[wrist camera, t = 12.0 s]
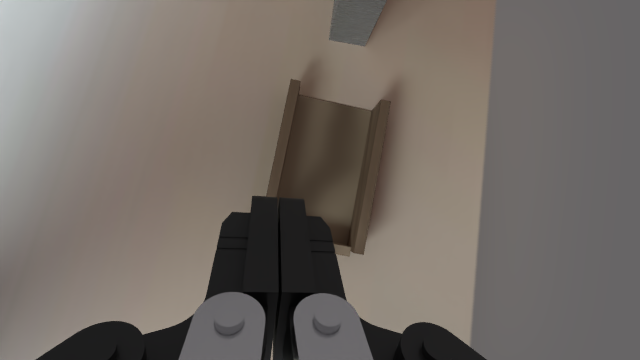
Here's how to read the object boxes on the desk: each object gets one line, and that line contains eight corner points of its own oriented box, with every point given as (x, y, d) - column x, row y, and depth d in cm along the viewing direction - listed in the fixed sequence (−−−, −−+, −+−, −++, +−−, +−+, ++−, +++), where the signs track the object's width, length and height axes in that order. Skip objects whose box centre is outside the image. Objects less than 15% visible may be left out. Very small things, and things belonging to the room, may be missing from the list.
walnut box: (260, 237, 31) (256, 241, 27) (290, 94, 32) (291, 78, 28) (353, 254, 31) (362, 260, 28) (378, 113, 33) (390, 101, 29)
